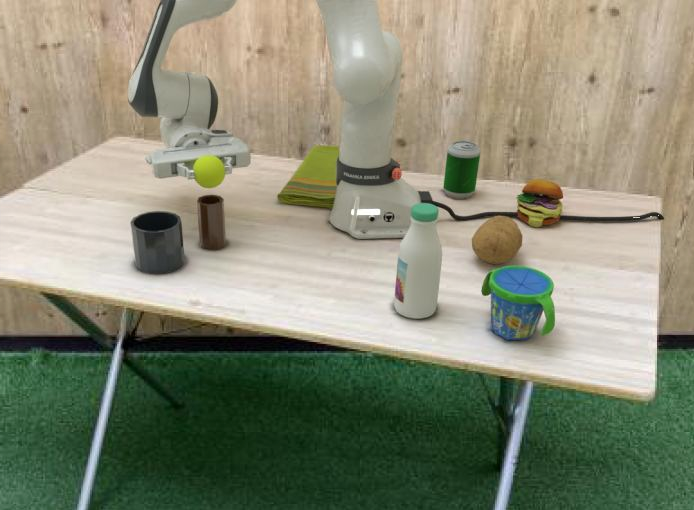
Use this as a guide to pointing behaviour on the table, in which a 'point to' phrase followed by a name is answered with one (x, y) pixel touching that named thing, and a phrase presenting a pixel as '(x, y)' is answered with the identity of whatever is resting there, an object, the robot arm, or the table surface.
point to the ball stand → (211, 222)
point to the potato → (497, 240)
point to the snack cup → (519, 301)
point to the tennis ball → (209, 171)
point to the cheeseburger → (540, 203)
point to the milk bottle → (419, 265)
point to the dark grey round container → (158, 242)
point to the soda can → (461, 169)
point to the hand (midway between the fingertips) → (210, 173)
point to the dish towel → (313, 179)
